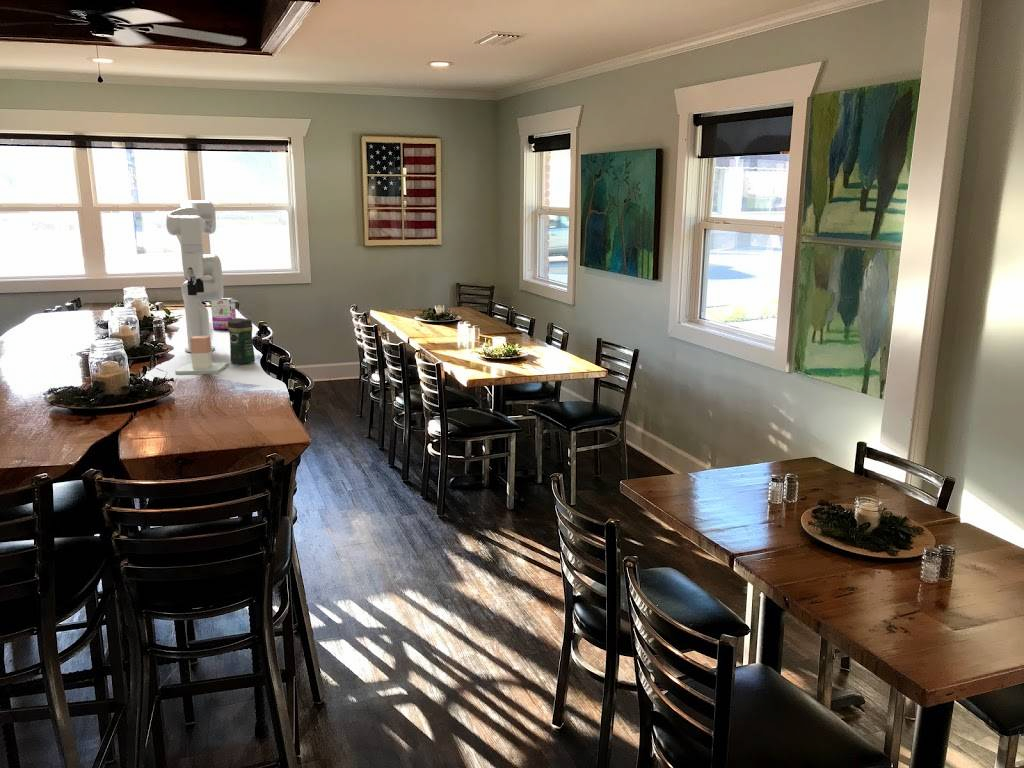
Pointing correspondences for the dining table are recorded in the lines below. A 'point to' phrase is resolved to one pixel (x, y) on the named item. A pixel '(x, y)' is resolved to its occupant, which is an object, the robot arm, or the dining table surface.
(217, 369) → the board
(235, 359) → the coffee jar
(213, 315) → the candy bar box
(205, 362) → the cream block
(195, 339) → the terracotta block
